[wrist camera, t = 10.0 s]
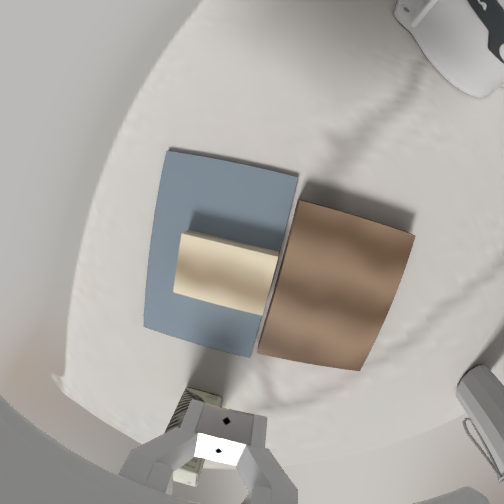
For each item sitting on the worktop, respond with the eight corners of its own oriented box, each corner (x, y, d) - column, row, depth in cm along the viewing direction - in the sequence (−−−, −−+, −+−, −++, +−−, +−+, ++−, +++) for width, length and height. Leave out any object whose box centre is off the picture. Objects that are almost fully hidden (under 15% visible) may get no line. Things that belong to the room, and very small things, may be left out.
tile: (188, 229, 26) (181, 233, 24) (278, 251, 26) (278, 256, 24) (179, 285, 28) (173, 292, 26) (263, 306, 28) (262, 315, 26)
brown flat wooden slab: (297, 199, 25) (299, 200, 23) (406, 231, 25) (415, 235, 23) (258, 343, 29) (257, 353, 27) (356, 361, 29) (359, 371, 27)
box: (222, 395, 32) (201, 474, 19) (218, 415, 33) (198, 488, 20) (184, 385, 32) (150, 459, 20) (182, 405, 33) (153, 474, 21)
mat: (168, 151, 25) (166, 150, 25) (297, 177, 25) (298, 177, 24) (144, 325, 30) (143, 326, 30) (250, 355, 30) (249, 357, 29)
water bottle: (472, 358, 28) (552, 466, 4) (493, 364, 28) (563, 456, 4) (437, 403, 30) (493, 517, 6) (462, 406, 30) (514, 502, 6)
